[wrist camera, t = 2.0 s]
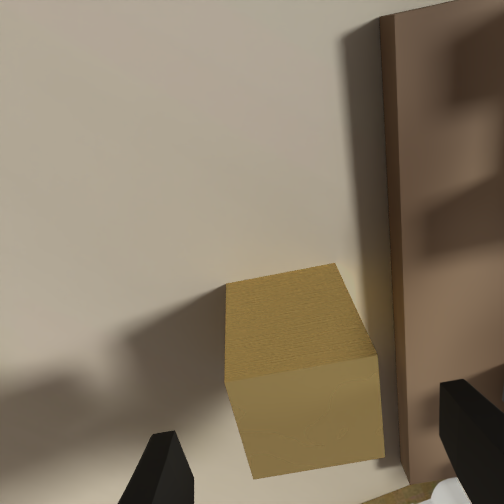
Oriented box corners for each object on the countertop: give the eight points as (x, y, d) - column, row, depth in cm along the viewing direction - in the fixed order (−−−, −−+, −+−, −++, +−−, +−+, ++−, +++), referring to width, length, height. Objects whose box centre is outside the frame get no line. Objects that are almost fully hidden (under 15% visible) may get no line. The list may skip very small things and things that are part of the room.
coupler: (334, 262, 15) (377, 355, 11) (344, 347, 17) (384, 457, 13) (226, 283, 15) (224, 382, 11) (247, 365, 17) (253, 479, 13)
